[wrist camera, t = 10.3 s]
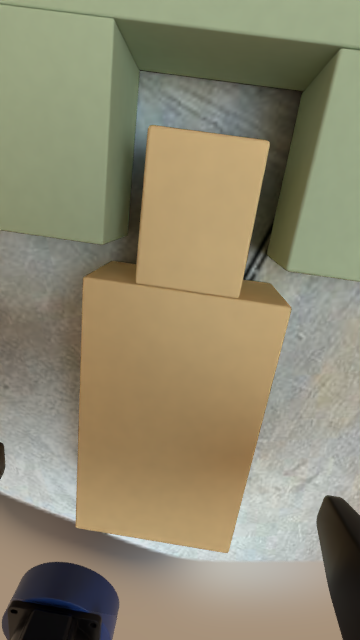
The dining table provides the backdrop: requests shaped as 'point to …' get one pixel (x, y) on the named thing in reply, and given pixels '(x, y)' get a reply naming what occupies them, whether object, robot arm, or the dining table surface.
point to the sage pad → (188, 60)
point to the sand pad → (179, 351)
